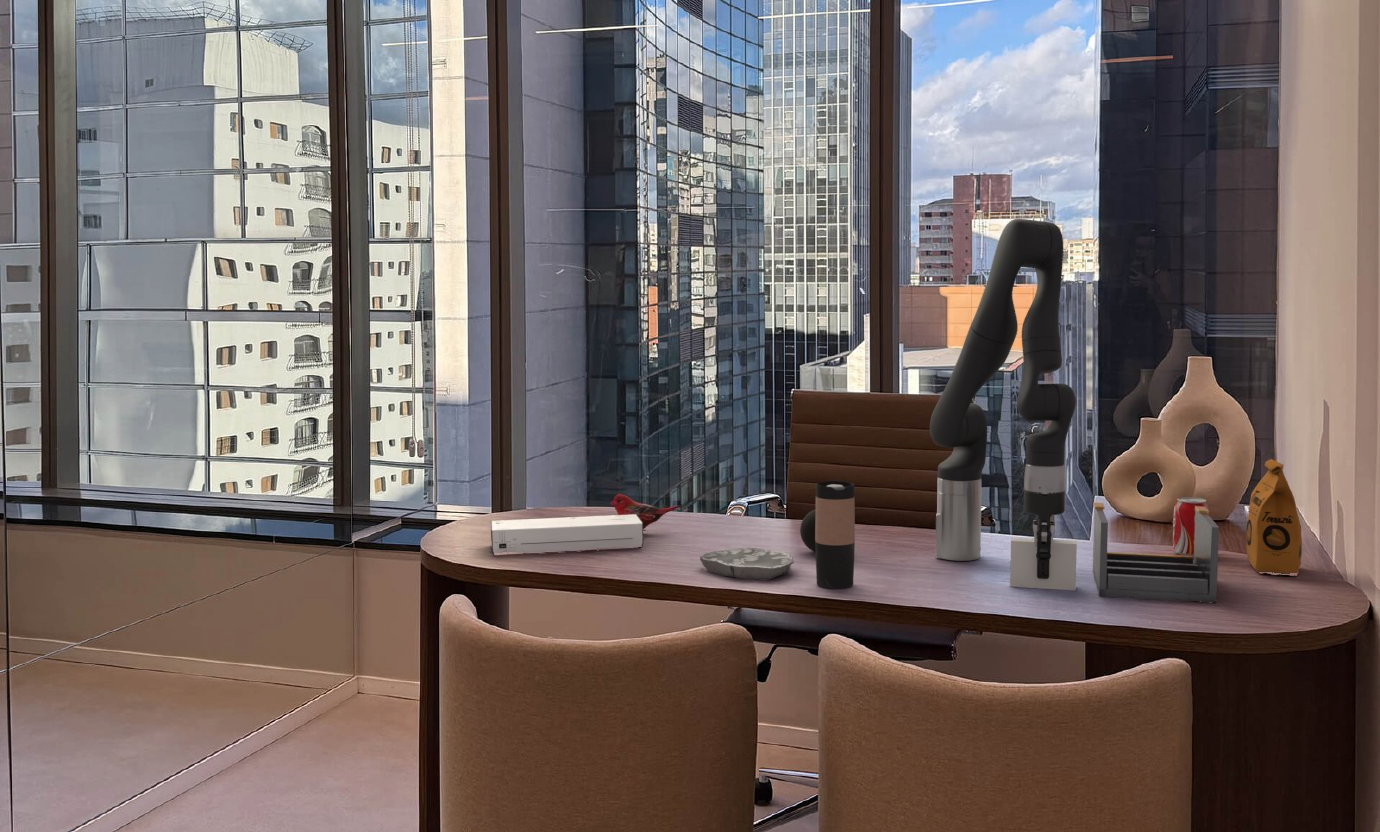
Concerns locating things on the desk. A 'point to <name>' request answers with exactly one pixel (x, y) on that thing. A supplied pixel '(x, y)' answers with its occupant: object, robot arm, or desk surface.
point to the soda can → (1185, 524)
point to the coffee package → (1273, 525)
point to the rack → (1158, 566)
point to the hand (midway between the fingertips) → (1042, 575)
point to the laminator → (566, 533)
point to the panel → (1059, 565)
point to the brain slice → (748, 563)
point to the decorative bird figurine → (639, 509)
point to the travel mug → (835, 534)
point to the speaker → (809, 530)
